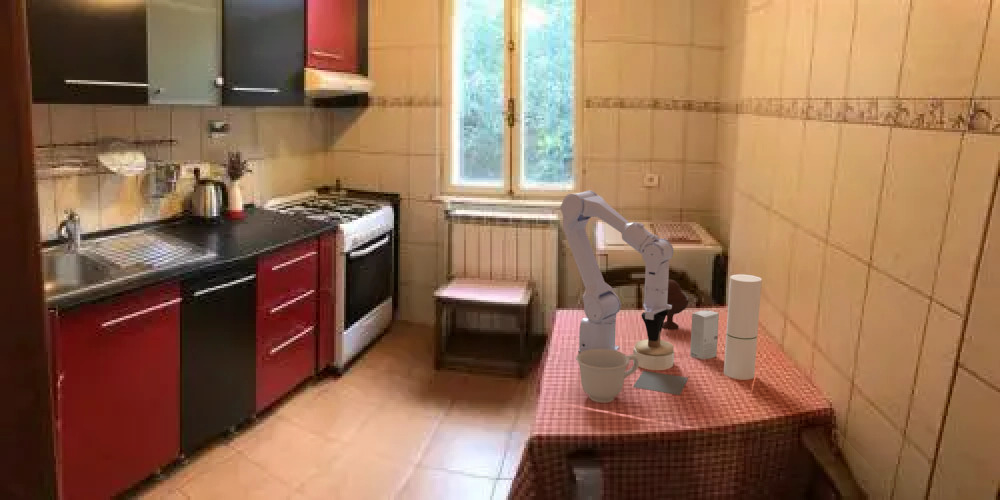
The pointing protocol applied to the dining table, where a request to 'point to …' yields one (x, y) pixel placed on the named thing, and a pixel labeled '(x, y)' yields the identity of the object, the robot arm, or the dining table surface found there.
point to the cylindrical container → (742, 326)
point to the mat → (661, 382)
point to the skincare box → (704, 334)
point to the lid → (654, 346)
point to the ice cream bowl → (674, 304)
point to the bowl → (654, 360)
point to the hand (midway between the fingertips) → (654, 338)
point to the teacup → (604, 372)
